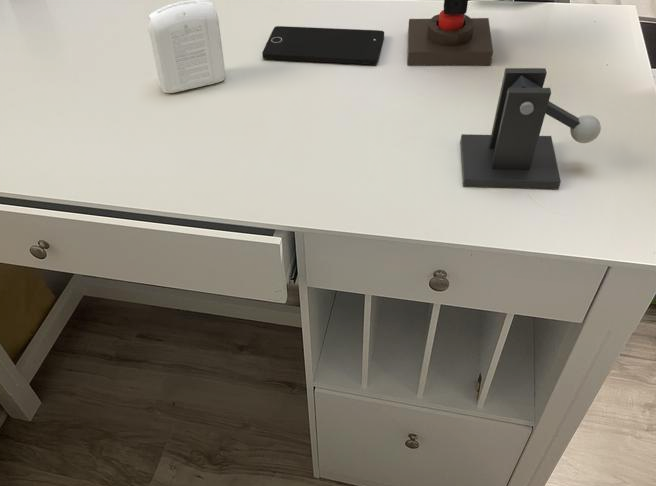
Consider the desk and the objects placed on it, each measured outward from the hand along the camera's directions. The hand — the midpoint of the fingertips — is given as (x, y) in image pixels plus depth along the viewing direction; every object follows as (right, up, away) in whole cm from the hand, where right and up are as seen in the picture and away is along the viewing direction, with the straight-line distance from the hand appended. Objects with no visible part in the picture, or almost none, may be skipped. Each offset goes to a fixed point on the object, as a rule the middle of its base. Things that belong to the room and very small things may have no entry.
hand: (454, 11), depth 97 cm
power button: (0, -1, +2) cm, 2 cm away
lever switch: (+5, -21, -19) cm, 29 cm away
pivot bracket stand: (+2, -25, -14) cm, 29 cm away
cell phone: (-18, -3, +8) cm, 20 cm away
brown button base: (0, -4, +5) cm, 6 cm away
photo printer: (-39, -9, +5) cm, 40 cm away
